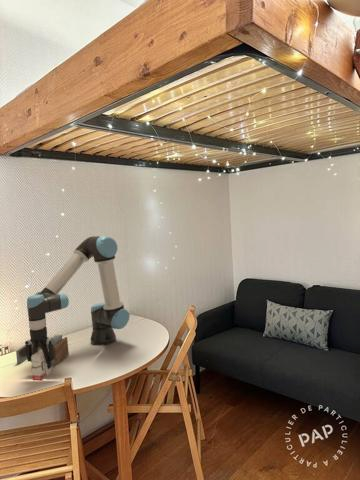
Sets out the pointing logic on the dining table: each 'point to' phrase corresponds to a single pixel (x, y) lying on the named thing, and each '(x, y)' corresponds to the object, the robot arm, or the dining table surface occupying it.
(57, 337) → the book
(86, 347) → the dining table surface
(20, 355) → the bookend
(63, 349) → the shelf
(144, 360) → the dining table surface
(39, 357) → the ink box
